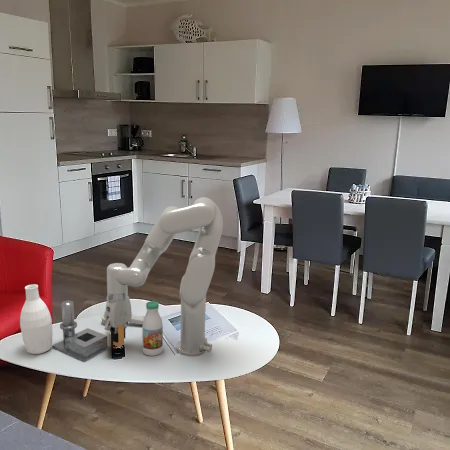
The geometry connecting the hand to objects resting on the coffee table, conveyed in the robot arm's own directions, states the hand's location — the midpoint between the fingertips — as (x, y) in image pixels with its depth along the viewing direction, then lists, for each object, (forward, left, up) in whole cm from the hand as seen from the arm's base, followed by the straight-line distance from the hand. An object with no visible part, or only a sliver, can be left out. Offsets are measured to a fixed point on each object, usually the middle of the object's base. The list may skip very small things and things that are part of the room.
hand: (118, 339), depth 179 cm
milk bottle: (-13, -5, -3) cm, 14 cm away
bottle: (+23, +19, -3) cm, 30 cm away
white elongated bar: (+10, -17, -4) cm, 20 cm away
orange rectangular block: (0, 0, -3) cm, 3 cm away
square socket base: (+12, +9, -3) cm, 15 cm away
